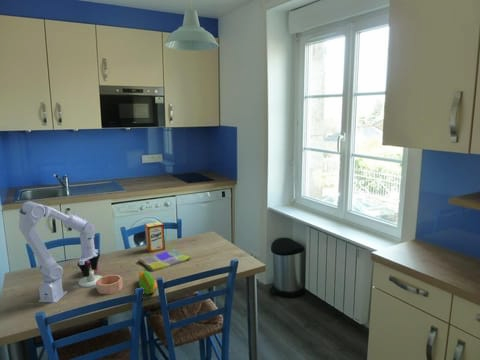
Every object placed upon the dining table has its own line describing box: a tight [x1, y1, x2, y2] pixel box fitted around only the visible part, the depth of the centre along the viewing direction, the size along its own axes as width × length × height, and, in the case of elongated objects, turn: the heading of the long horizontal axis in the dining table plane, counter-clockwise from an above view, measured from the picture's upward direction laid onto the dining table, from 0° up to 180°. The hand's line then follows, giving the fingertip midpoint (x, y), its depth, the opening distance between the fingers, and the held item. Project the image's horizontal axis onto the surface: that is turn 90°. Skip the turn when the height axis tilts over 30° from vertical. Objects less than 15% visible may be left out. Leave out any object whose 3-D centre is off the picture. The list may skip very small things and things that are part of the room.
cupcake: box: [80, 260, 99, 275], centre depth 181 cm, size 9×8×12 cm
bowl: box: [96, 274, 124, 295], centre depth 166 cm, size 11×11×4 cm
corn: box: [136, 270, 158, 295], centre depth 166 cm, size 7×8×20 cm
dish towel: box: [137, 248, 191, 272], centre depth 197 cm, size 18×24×3 cm
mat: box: [72, 275, 105, 289], centre depth 173 cm, size 12×12×1 cm
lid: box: [78, 270, 102, 287], centre depth 173 cm, size 11×11×5 cm
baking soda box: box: [144, 221, 166, 254], centre depth 213 cm, size 10×6×16 cm
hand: (90, 272), depth 172 cm, fingers open, 7 cm apart
